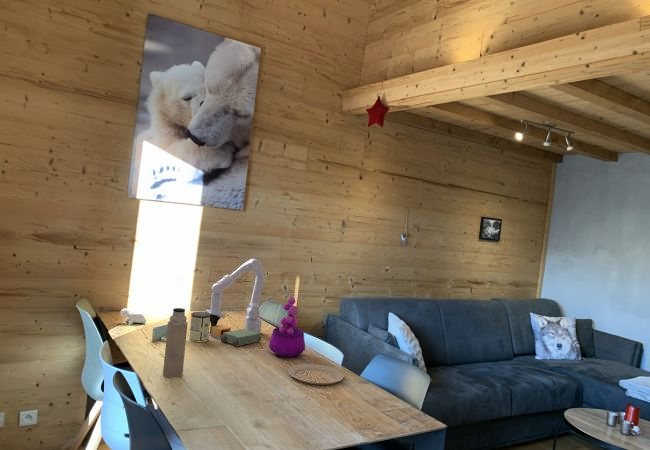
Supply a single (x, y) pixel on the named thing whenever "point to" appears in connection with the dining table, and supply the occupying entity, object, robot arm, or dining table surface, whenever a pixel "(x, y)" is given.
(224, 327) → the orange and grey block
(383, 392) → the dining table surface
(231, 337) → the grey-green flat box
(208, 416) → the dining table surface
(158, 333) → the right angle wall
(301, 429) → the dining table surface
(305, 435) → the dining table surface
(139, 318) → the white lumpy figure
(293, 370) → the plate
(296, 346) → the decorative plant
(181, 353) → the thermos bottle
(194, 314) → the coffee can
